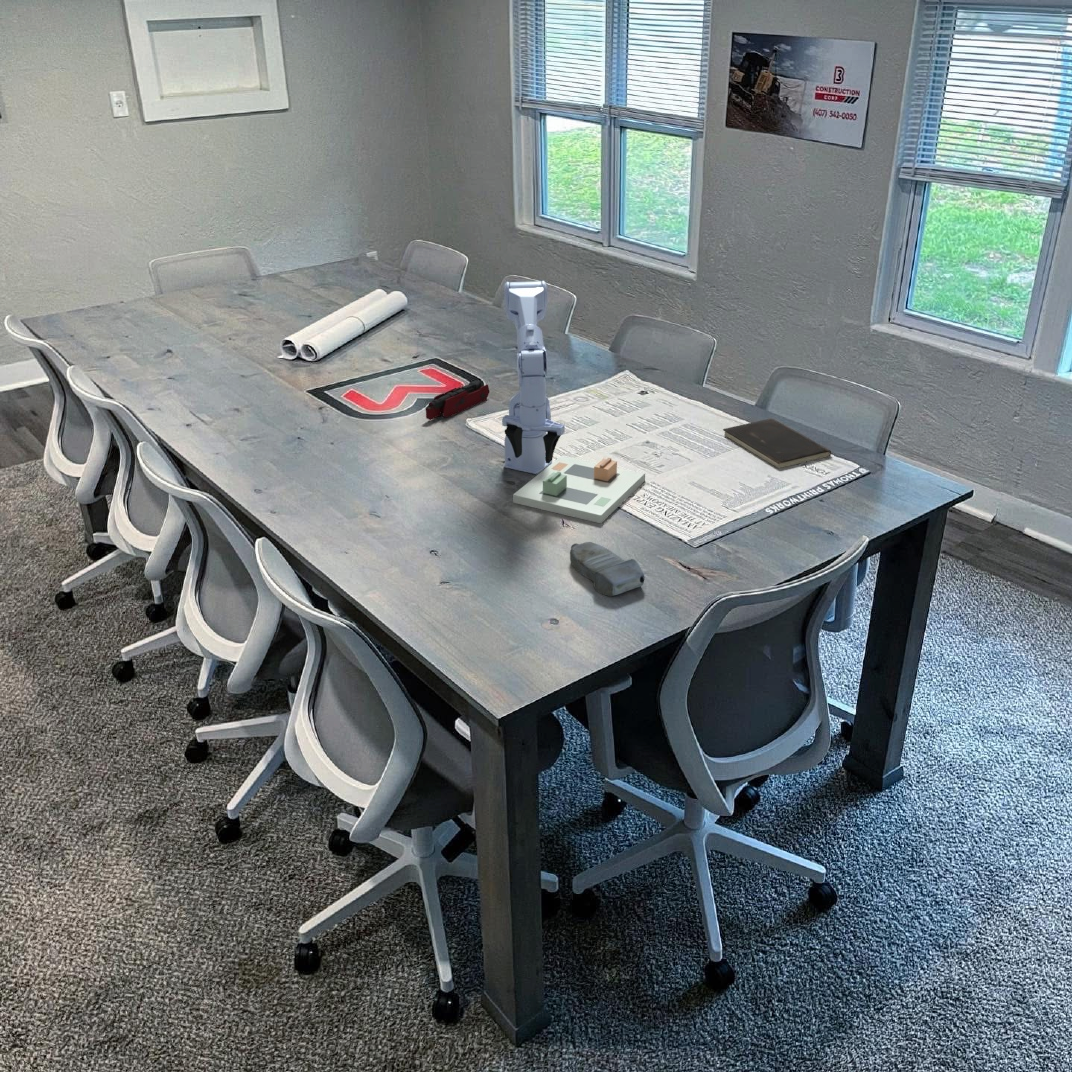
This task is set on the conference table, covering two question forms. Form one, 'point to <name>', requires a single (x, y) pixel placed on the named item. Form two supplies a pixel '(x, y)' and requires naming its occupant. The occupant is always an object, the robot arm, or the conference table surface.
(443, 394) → the mechanical component
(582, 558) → the handheld device
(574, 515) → the switch board
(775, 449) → the hardcover book
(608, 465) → the tab terracotta
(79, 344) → the conference table surface
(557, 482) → the tab green
